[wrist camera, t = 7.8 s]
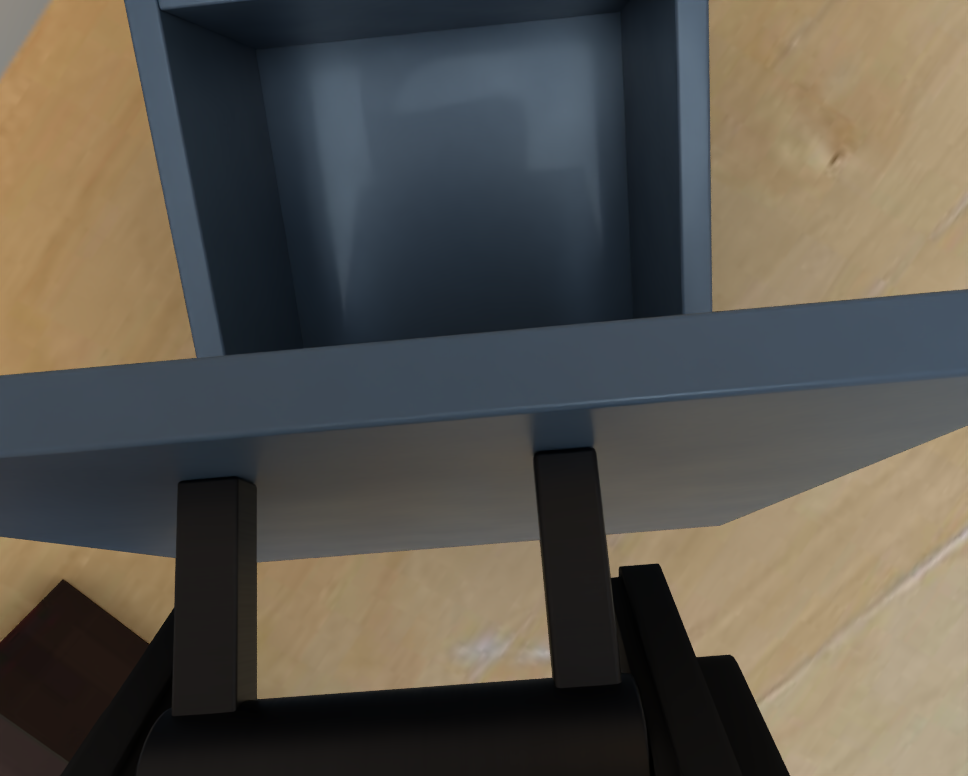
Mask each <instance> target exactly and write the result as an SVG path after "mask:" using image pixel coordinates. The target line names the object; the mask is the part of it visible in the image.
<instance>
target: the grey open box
mask: <svg viewBox="0 0 968 776" xmlns="http://www.w3.org/2000/svg"><path fill="white" fill-rule="evenodd" d="M124 3H125V7H126V12H127V17H128V22H129V27H130V32H131V37H132V42H133V47H134V52H135V57H136V62H137V67H138V71H139V76H140V81H141V86H142V91H143V96H144V101H145V106H146V111H147V116H148V121H149V126H150V130H151V135H152V140H153V145H154V150H155V155H156V160H157V165H158V170H159V175H160V180H161V185H162V189H163V194H164V199H165V204H166V209H167V214H168V219H169V224H170V229H171V234H172V239H173V244H174V248H175V253H176V258H177V263H178V268H179V273H180V278H181V283H182V288H183V293H184V298H185V303H186V308H187V312H188V317H189V322H190V327H191V332H192V337H193V342H194V347H195V352H196V357H197V358H202V357H213V356H225V355H236V354H247V353H258V352H269V351H281V350H292V349H303V348H314V347H325V346H337V345H348V344H359V343H370V342H381V341H393V340H404V339H415V338H426V337H437V336H449V335H460V334H471V333H482V332H493V331H505V330H516V329H527V328H538V327H549V326H561V325H572V324H583V323H594V322H605V321H617V320H628V319H639V318H650V317H661V316H673V315H684V314H695V313H706V312H712V250H711V164H710V79H709V0H124Z"/></svg>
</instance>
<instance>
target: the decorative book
mask: <svg viewBox="0 0 968 776" xmlns="http://www.w3.org/2000/svg"><path fill="white" fill-rule="evenodd" d="M148 646H149V645H148V644H147V643H146V642H144V641H143V640H142V639H141V638H139V637H138V636H137V635H135V634H134V633H133V632H131V631H130V630H129V629H127V628H126V627H125V626H123V625H122V624H121V623H119V622H118V621H117V620H115V619H114V618H113V617H111V616H110V615H109V614H108V613H106V612H105V611H104V610H102V609H101V608H100V607H98V606H97V605H96V604H94V603H93V602H92V601H90V600H89V599H88V598H86V597H85V596H84V595H82V594H81V593H80V592H79V591H77V590H76V589H75V588H73V587H72V586H71V585H69V584H68V583H67V582H65V581H64V580H62V581H61V582H60V583H59V584H58V585H57V586H56V587H55V588H54V589H53V590H52V591H51V592H50V593H49V594H48V595H47V596H46V597H45V598H44V599H43V600H42V601H41V602H40V603H39V604H38V605H37V606H36V607H35V608H34V609H33V610H32V611H31V612H30V613H29V614H28V615H27V616H26V617H25V618H24V619H23V620H22V621H21V622H20V623H19V624H18V625H17V626H16V627H15V628H14V629H13V630H12V631H11V632H10V633H9V634H8V635H7V636H6V637H5V638H4V639H3V640H2V641H1V642H0V776H60V775H61V774H62V772H63V771H64V769H65V768H66V766H67V765H68V763H69V762H70V760H71V759H72V757H73V756H74V754H75V753H76V751H77V750H78V748H79V747H80V745H81V744H82V742H83V741H84V739H85V738H86V736H87V735H88V733H89V732H90V730H91V729H92V727H93V726H94V724H95V723H96V722H97V720H98V719H99V717H100V716H101V714H102V713H103V711H104V710H105V709H106V708H107V707H108V706H109V704H110V703H111V701H112V700H113V698H114V697H115V695H116V694H117V692H118V691H119V689H120V688H121V686H122V685H123V683H124V682H125V680H126V679H127V677H128V676H129V674H130V673H131V671H132V670H133V668H134V667H135V665H136V664H137V662H138V661H139V659H140V658H141V656H142V655H143V653H144V652H145V650H146V649H147V647H148Z"/></svg>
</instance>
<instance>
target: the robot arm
mask: <svg viewBox="0 0 968 776" xmlns="http://www.w3.org/2000/svg"><path fill="white" fill-rule="evenodd" d="M611 585H612V594H613V603H614V612H615V621H616V630H617V639H618V648H619V657H620V666H621V673H625V672H626V673H630V674H632V675H633V677H634V679H635V681H636V683H637V686H638V689H639V692H640V695H641V699H642V703H643V708H644V712H645V717H646V722H647V727H648V733H649V739H650V745H651V753H652V759H653V766H654V774H655V776H790V775H789V772H788V770H787V768H786V766H785V764H784V762H783V760H782V757H781V755H780V753H779V751H778V749H777V747H776V745H775V742H774V740H773V738H772V736H771V734H770V732H769V730H768V727H767V725H766V723H765V721H764V719H763V717H762V715H761V712H760V710H759V708H758V706H757V704H756V702H755V700H754V697H753V695H752V693H751V691H750V689H749V687H748V685H747V682H746V680H745V678H744V676H743V674H742V672H741V670H740V667H739V665H738V663H737V662H736V660H735V658H734V657H733V656H731V655H720V656H707V657H696V656H695V653H694V651H693V648H692V645H691V643H690V640H689V638H688V635H687V633H686V630H685V628H684V625H683V623H682V620H681V617H680V615H679V612H678V610H677V607H676V605H675V602H674V600H673V597H672V595H671V592H670V589H669V587H668V584H667V582H666V579H665V577H664V574H663V572H662V569H661V567H660V565H659V564H647V565H634V566H621V567H619V577H615V578H611ZM173 643H174V609H173V610H172V612H171V613H170V615H169V616H168V618H167V619H166V621H165V622H164V624H163V625H162V627H161V628H160V630H159V631H158V633H157V634H156V636H155V637H154V639H153V640H152V641H151V643H150V644H149V646H148V647H147V649H146V650H145V652H144V653H143V655H142V656H141V658H140V659H139V661H138V662H137V664H136V665H135V667H134V668H133V670H132V671H131V673H130V674H129V676H128V677H127V679H126V680H125V682H124V683H123V685H122V686H121V688H120V689H119V691H118V692H117V694H116V695H115V697H114V698H113V700H112V701H111V703H110V704H109V706H108V707H107V708H106V709H105V710H104V711H103V713H102V714H101V716H100V717H99V719H98V720H97V722H96V723H95V724H94V726H93V727H92V729H91V730H90V732H89V733H88V735H87V736H86V738H85V739H84V741H83V742H82V744H81V745H80V747H79V748H78V750H77V751H76V753H75V754H74V756H73V757H72V759H71V760H70V762H69V763H68V765H67V766H66V768H65V769H64V771H63V772H62V774H61V775H60V776H134V775H135V771H136V767H137V763H138V760H139V756H140V753H141V750H142V748H143V745H144V742H145V740H146V738H147V736H148V733H149V732H150V730H151V728H152V726H153V725H154V723H155V722H156V720H157V719H158V718H159V717H160V716H161V714H162V713H164V712H165V711H166V710H168V709H170V708H172V681H173Z"/></svg>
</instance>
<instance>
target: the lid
mask: <svg viewBox="0 0 968 776" xmlns="http://www.w3.org/2000/svg"><path fill="white" fill-rule="evenodd" d="M965 426H968V289H964V290H953V291H942V292H930V293H919V294H908V295H897V296H886V297H874V298H863V299H852V300H841V301H830V302H818V303H807V304H796V305H785V306H773V307H762V308H751V309H740V310H729V311H717V312H706V313H695V314H684V315H673V316H661V317H650V318H639V319H628V320H617V321H605V322H594V323H583V324H572V325H561V326H549V327H538V328H527V329H516V330H505V331H493V332H482V333H471V334H460V335H449V336H437V337H426V338H415V339H404V340H393V341H381V342H370V343H359V344H348V345H337V346H325V347H314V348H303V349H292V350H281V351H269V352H258V353H247V354H236V355H225V356H213V357H202V358H191V359H180V360H169V361H157V362H146V363H135V364H124V365H112V366H101V367H90V368H79V369H68V370H56V371H45V372H34V373H23V374H12V375H0V537H8V538H16V539H25V540H33V541H41V542H49V543H57V544H65V545H74V546H82V547H90V548H98V549H106V550H114V551H123V552H131V553H139V554H147V555H155V556H163V557H172V558H176V567H175V605H174V643H173V681H172V708H170V709H168V710H166V711H165V712H164V713H162V714H161V716H160V717H159V718H158V719H157V720H156V722H155V723H154V725H153V726H152V728H151V730H150V732H149V733H148V736H147V738H146V740H145V742H144V745H143V748H142V750H141V753H140V756H139V760H138V763H137V767H136V771H135V775H134V776H655V774H654V766H653V759H652V753H651V745H650V739H649V733H648V727H647V722H646V717H645V712H644V708H643V703H642V699H641V695H640V692H639V689H638V686H637V683H636V681H635V679H634V677H633V675H632V674H630V673H626V672H625V673H621V666H620V657H619V648H618V639H617V630H616V621H615V612H614V603H613V594H612V585H611V577H610V568H609V559H608V550H607V541H606V535H608V534H621V533H634V532H646V531H659V530H671V529H684V528H696V527H709V526H720V525H723V524H725V523H728V522H730V521H733V520H735V519H738V518H740V517H743V516H745V515H747V514H750V513H752V512H755V511H757V510H760V509H762V508H765V507H767V506H770V505H772V504H775V503H777V502H780V501H782V500H785V499H787V498H789V497H792V496H794V495H797V494H799V493H802V492H804V491H807V490H809V489H812V488H814V487H817V486H819V485H822V484H824V483H827V482H829V481H832V480H834V479H836V478H839V477H841V476H844V475H846V474H849V473H851V472H854V471H856V470H859V469H861V468H864V467H866V466H869V465H871V464H874V463H876V462H879V461H881V460H883V459H886V458H888V457H891V456H893V455H896V454H898V453H901V452H903V451H906V450H908V449H911V448H913V447H916V446H918V445H921V444H923V443H925V442H928V441H930V440H933V439H935V438H938V437H940V436H943V435H945V434H948V433H950V432H953V431H955V430H958V429H960V428H963V427H965ZM533 540H540V546H541V557H542V568H543V579H544V590H545V601H546V612H547V623H548V634H549V645H550V656H551V667H552V678H543V679H529V680H516V681H502V682H488V683H475V684H461V685H447V686H434V687H420V688H406V689H392V690H379V691H365V692H351V693H338V694H324V695H310V696H297V697H283V698H269V699H257V562H269V561H281V560H294V559H306V558H319V557H332V556H344V555H357V554H369V553H382V552H395V551H407V550H420V549H432V548H445V547H457V546H470V545H483V544H495V543H508V542H520V541H533Z"/></svg>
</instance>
